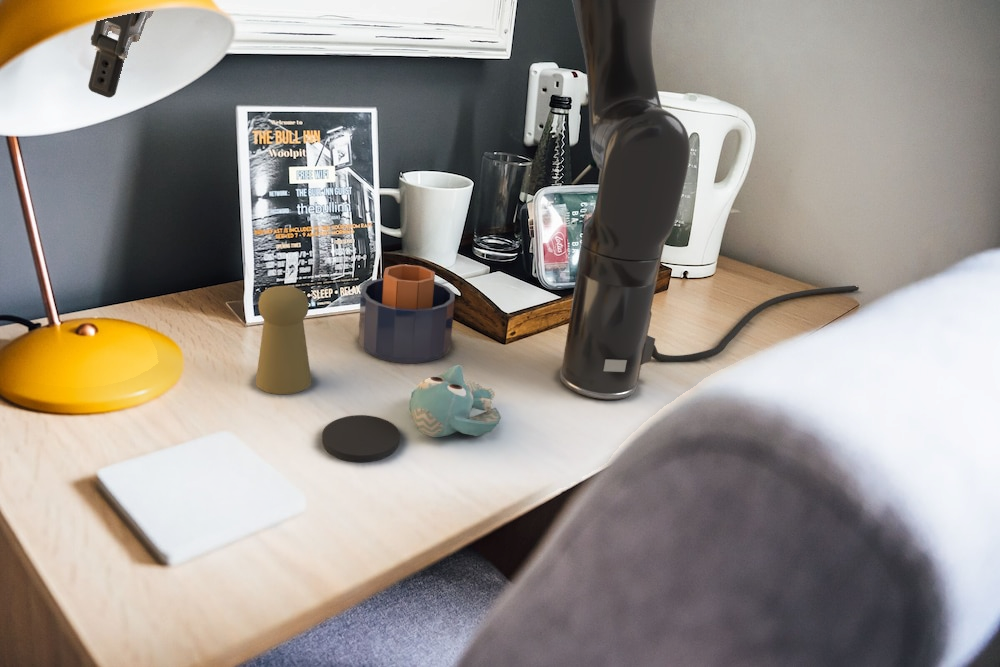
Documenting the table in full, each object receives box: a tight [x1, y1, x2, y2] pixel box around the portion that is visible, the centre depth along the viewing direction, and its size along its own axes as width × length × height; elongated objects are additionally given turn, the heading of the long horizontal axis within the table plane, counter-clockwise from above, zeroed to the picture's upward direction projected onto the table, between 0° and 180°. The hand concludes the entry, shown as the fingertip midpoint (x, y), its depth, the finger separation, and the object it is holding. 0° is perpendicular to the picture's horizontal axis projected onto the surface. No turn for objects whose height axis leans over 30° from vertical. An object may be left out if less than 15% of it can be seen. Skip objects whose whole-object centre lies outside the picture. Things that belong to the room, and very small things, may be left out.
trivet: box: [321, 414, 401, 463], centre depth 77 cm, size 8×8×1 cm
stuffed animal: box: [408, 364, 502, 438], centre depth 81 cm, size 11×7×12 cm
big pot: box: [358, 277, 456, 364], centre depth 98 cm, size 12×12×7 cm
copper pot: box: [382, 263, 436, 309], centre depth 97 cm, size 6×6×9 cm
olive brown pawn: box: [255, 285, 312, 395], centre depth 84 cm, size 6×6×11 cm
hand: (112, 86), depth 75 cm, fingers open, 8 cm apart
